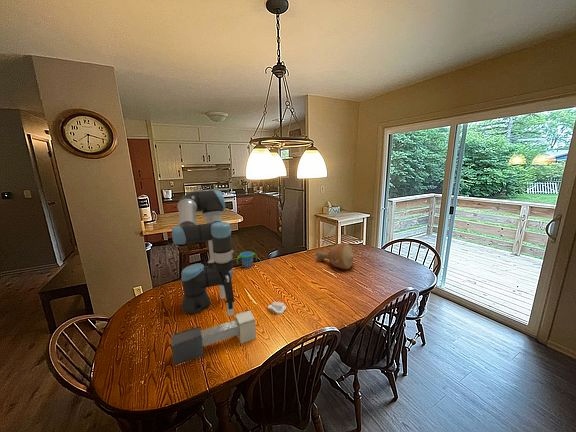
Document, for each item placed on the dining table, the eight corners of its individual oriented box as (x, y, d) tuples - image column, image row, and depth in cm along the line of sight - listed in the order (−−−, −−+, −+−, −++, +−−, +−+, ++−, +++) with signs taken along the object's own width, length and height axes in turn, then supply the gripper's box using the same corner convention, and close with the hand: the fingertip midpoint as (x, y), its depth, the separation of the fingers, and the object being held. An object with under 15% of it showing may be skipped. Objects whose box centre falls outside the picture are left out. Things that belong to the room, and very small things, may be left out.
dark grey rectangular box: (174, 367, 92) (171, 346, 89) (174, 354, 98) (171, 334, 96) (203, 356, 96) (201, 336, 94) (201, 345, 102) (199, 326, 100)
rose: (267, 307, 121) (268, 297, 131) (267, 315, 122) (268, 304, 132) (286, 307, 122) (285, 296, 131) (286, 314, 123) (286, 303, 132)
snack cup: (238, 270, 174) (237, 257, 171) (236, 264, 183) (235, 252, 181) (258, 267, 178) (258, 254, 176) (256, 261, 188) (255, 250, 186)
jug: (346, 261, 158) (308, 256, 176) (354, 276, 169) (318, 270, 187) (354, 238, 169) (317, 235, 187) (361, 253, 180) (326, 249, 198)
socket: (241, 343, 103) (239, 324, 101) (236, 333, 109) (235, 314, 107) (256, 338, 106) (255, 319, 104) (250, 328, 113) (249, 310, 110)
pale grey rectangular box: (196, 349, 95) (195, 339, 94) (195, 341, 100) (193, 331, 99) (250, 331, 105) (250, 321, 104) (247, 324, 110) (246, 315, 109)
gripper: (240, 270, 87) (243, 320, 91) (225, 248, 108) (229, 289, 113) (219, 274, 83) (224, 326, 88) (209, 251, 105) (213, 293, 110)
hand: (226, 305), depth 101 cm, fingers open, 13 cm apart
